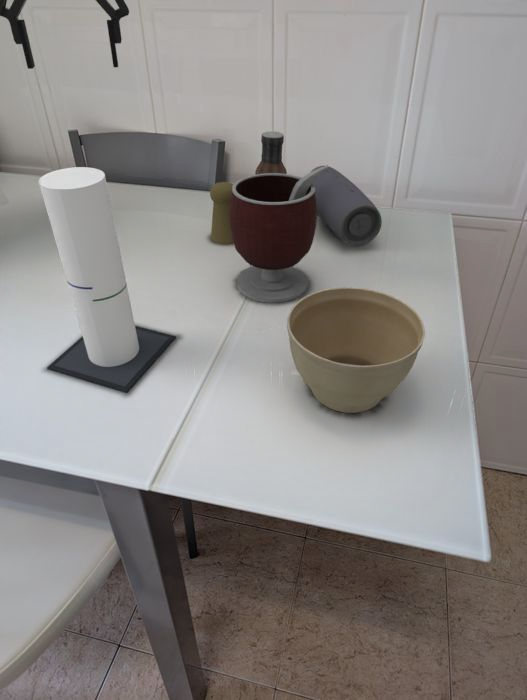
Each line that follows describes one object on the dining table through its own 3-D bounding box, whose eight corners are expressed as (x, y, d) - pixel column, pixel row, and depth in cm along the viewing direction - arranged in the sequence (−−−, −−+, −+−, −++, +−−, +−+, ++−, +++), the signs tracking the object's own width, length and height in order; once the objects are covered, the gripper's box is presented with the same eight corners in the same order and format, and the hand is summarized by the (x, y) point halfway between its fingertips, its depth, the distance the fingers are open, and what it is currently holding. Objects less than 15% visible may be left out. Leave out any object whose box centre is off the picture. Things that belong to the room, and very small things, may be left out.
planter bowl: (307, 340, 74) (311, 276, 67) (417, 367, 69) (433, 301, 62) (266, 412, 62) (266, 344, 56) (394, 450, 57) (412, 381, 51)
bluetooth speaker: (380, 249, 97) (388, 200, 91) (335, 255, 95) (341, 204, 89) (339, 205, 114) (343, 161, 108) (300, 209, 112) (302, 164, 106)
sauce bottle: (252, 242, 99) (251, 138, 87) (254, 229, 104) (253, 128, 92) (284, 243, 99) (288, 139, 87) (285, 229, 104) (288, 129, 92)
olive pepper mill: (219, 246, 98) (216, 192, 91) (205, 235, 102) (201, 182, 95) (245, 239, 100) (244, 186, 93) (231, 228, 104) (229, 176, 97)
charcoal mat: (47, 369, 69) (46, 367, 69) (103, 319, 78) (103, 317, 78) (126, 393, 65) (126, 391, 65) (176, 337, 74) (175, 335, 74)
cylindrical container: (98, 334, 74) (55, 166, 59) (145, 337, 74) (113, 168, 58) (80, 365, 69) (27, 188, 53) (130, 368, 68) (91, 190, 53)
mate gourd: (237, 308, 81) (232, 187, 68) (228, 267, 91) (223, 156, 79) (329, 300, 82) (341, 181, 70) (310, 261, 93) (318, 151, 81)
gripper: (-62, -112, 65) (-10, 71, 78) (132, -103, 70) (150, 69, 83) (-47, -106, 71) (-1, 64, 84) (131, -98, 76) (148, 62, 89)
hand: (74, 67), depth 83 cm, fingers open, 13 cm apart
